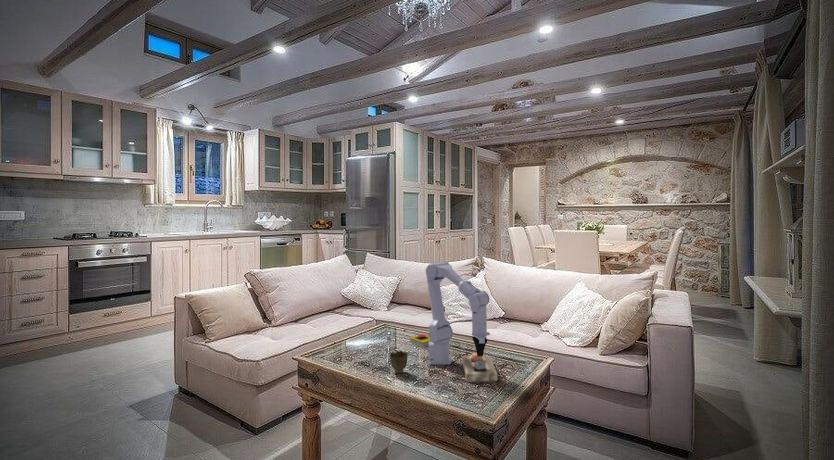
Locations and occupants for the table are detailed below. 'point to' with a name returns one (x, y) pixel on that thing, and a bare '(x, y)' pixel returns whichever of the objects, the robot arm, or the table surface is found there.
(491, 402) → the table surface
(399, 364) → the cup
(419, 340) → the emergency button
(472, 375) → the button panel
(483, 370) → the grey button
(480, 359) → the terracotta button
